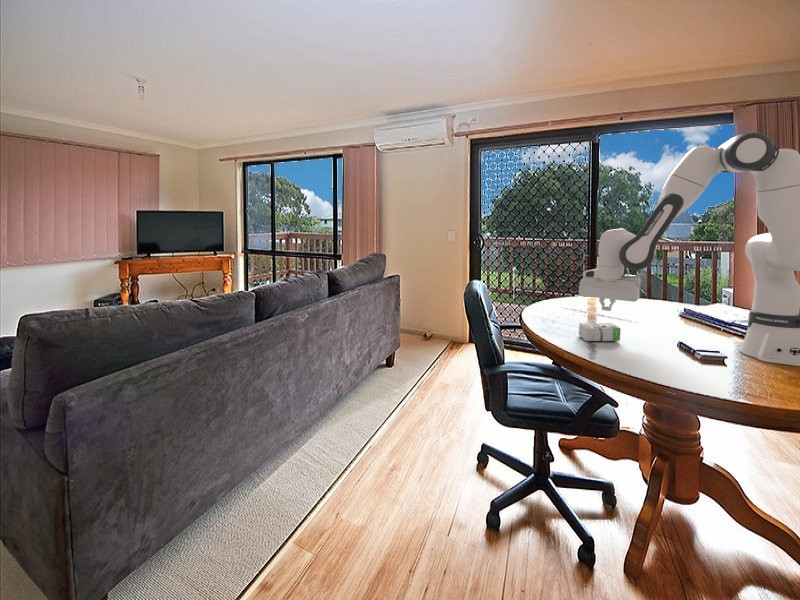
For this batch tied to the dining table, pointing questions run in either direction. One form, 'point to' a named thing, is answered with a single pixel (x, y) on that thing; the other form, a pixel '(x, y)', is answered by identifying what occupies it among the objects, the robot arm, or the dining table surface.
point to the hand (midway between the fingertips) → (606, 310)
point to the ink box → (599, 332)
